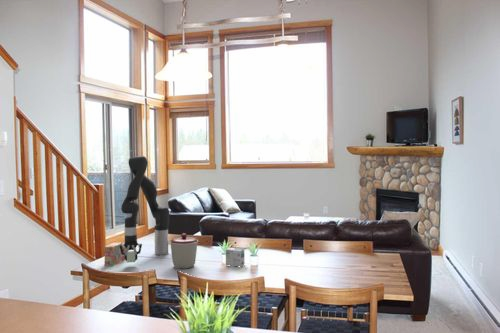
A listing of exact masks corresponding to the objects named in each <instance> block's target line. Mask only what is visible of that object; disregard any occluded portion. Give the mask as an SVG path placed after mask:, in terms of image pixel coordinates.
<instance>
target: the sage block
mask: <svg viewBox="0 0 500 333" xmlns="http://www.w3.org/2000/svg"><path fill="white" fill-rule="evenodd" d="M126 263H136V261H135V252H134V250H129V251H128V252H127V261H126Z"/></svg>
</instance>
